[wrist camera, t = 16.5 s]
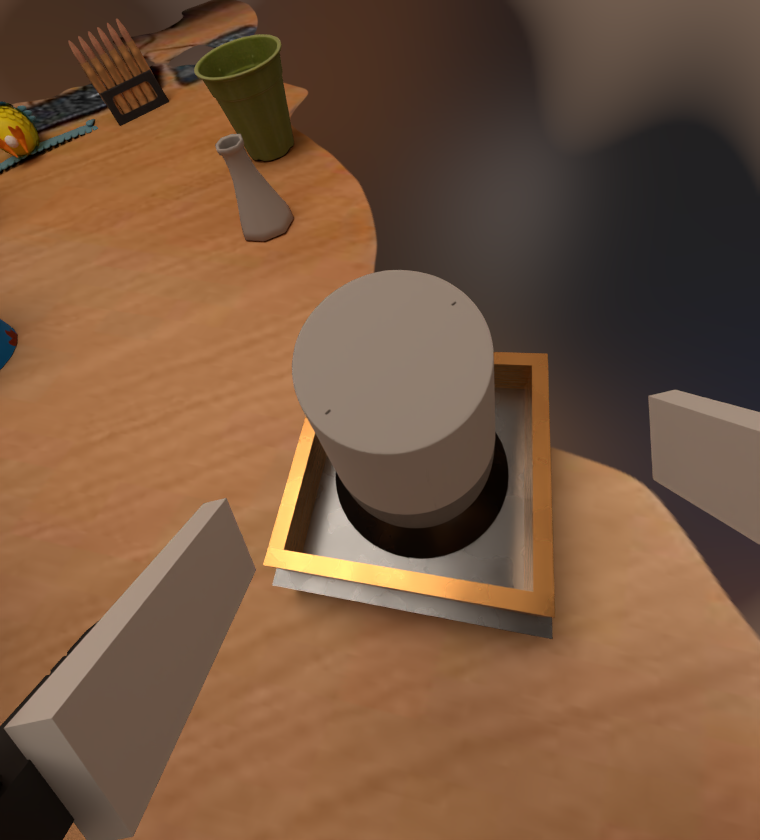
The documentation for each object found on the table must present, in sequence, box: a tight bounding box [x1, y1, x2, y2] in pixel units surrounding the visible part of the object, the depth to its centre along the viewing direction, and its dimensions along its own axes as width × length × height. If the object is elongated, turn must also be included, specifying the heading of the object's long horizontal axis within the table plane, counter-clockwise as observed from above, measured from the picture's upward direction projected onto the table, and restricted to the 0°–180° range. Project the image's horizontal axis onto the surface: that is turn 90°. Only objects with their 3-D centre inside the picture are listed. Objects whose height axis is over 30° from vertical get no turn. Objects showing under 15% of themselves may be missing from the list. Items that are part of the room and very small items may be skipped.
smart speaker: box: [292, 270, 495, 528], centre depth 20 cm, size 10×9×14 cm
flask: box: [215, 134, 293, 241], centre depth 45 cm, size 7×7×10 cm
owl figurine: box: [0, 102, 98, 171], centre depth 72 cm, size 28×9×15 cm
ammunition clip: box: [68, 19, 169, 126], centre depth 69 cm, size 11×2×12 cm, turn 123°
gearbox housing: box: [263, 352, 555, 639], centre depth 27 cm, size 18×17×7 cm
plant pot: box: [194, 35, 294, 161], centre depth 54 cm, size 12×12×11 cm
